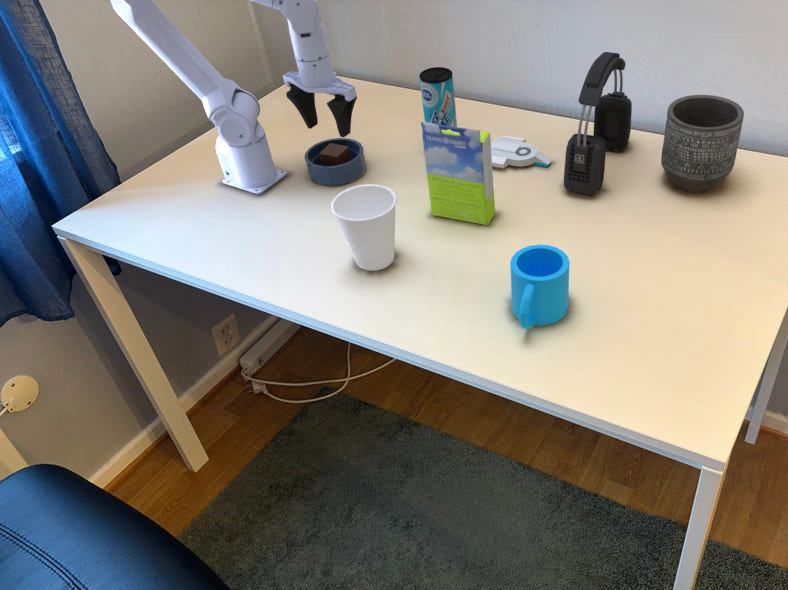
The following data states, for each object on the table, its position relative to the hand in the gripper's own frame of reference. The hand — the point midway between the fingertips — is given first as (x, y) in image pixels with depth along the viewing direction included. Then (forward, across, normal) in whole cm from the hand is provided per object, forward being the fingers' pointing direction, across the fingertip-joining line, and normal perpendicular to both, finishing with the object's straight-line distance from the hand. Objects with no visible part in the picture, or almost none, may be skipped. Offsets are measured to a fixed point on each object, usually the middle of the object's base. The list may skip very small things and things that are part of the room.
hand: (329, 130), depth 132 cm
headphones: (+9, -43, -22) cm, 49 cm away
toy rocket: (+9, -27, -18) cm, 34 cm away
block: (+8, 0, 0) cm, 8 cm away
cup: (+9, -23, +19) cm, 31 cm away
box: (+9, -29, +2) cm, 30 cm away
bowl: (+8, 0, 0) cm, 8 cm away
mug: (+9, -52, +19) cm, 56 cm away
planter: (+9, -60, -25) cm, 66 cm away
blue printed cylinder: (+9, -14, -15) cm, 22 cm away
